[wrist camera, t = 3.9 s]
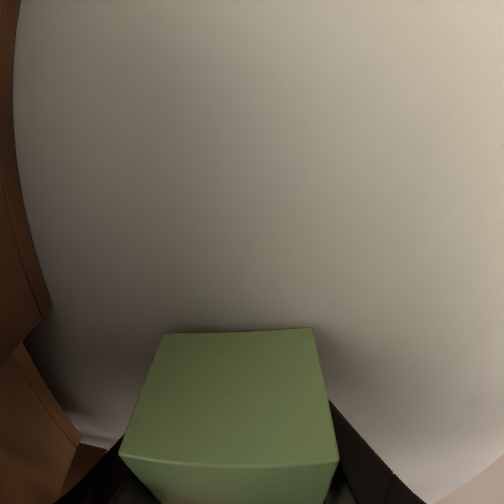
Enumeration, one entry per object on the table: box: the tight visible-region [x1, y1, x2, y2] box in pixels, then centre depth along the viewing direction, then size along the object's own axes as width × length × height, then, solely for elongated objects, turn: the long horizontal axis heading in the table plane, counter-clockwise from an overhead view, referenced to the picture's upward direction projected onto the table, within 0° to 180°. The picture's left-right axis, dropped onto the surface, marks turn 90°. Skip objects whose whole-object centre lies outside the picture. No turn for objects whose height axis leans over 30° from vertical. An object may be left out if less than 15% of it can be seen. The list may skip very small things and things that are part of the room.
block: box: [119, 328, 339, 504], centre depth 7 cm, size 4×4×4 cm
